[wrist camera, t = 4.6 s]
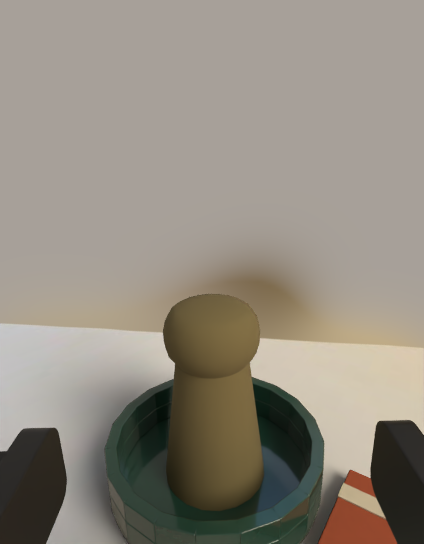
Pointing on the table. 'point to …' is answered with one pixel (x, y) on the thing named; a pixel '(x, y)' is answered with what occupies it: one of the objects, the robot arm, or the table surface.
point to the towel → (357, 515)
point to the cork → (213, 402)
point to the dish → (204, 523)
